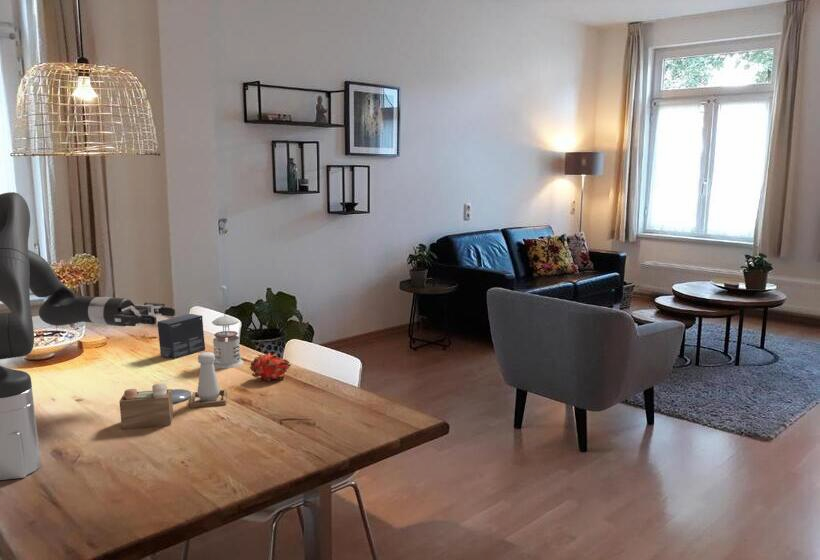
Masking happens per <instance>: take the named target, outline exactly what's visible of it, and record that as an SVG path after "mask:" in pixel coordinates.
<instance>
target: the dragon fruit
mask: <svg viewBox="0 0 820 560" xmlns="http://www.w3.org/2000/svg"><path fill="white" fill-rule="evenodd" d="M253 359H254V360H252V361H251V362H250V367H248V368H250V370H251V372H252V374H251V376H252V377H254V378H258V377H260V380H261V381H264V380H265V381H268V382H270V381H271V380H275V379H276V380H282V379H283V378H284V374H285V373H287V371H288V369H289V368H290V367H291V365H292V364H291V363H290V362H289V360H288V359H285V358H282V357H279V356H278V354H277V353H274V352H273V354H271V353H269V352H268V353H264V355H262V354H261V353H260V354H258V355H257V357H256V356H255V358H253Z"/></svg>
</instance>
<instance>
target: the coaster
mask: <svg viewBox="0 0 820 560" xmlns="http://www.w3.org/2000/svg"><path fill="white" fill-rule="evenodd" d="M191 397H192V393H191V391H190V390H188V389H184V388H183V389H182V388H181V389H179V388H178V389H177V388H176V389H172V402H173V405H174V404H179V403H183V402H185V400H186V401H187V400H189V399H191Z"/></svg>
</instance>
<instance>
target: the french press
mask: <svg viewBox="0 0 820 560" xmlns="http://www.w3.org/2000/svg"><path fill="white" fill-rule="evenodd" d="M219 289H220V290H221V291H222V295H223V297H222V299H223V301H225V293H224V292H225V290H227V287H226V285H221V286H220V288H219ZM225 307H226V306H225V302H223V313H224V315H223V316H222V315H221V316H219V317H216V318H215V319H214V320H212V321H211V324H212V325H214V326H216V327H217V326H219V327H222V330H223V331H218V332H216V333H214V335H213V336H214V338H213V339H212V340H213V341H212V342H213V354H214V355H215V361H214V362H213V365H214V368H215V369H233V368H237V367H241V366H242V365H243V364H244V360H243V359H241V347H240V346H241V345H240V337H239V336H237V335H239V334H238V331H235V330H230V326H233V325H236V324H238V323H239V321H240V320H239V319H238V318H236V317H233V316H229V315H226V308H225ZM227 328H228V330H227ZM226 339H227V341H226Z"/></svg>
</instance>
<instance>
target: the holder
mask: <svg viewBox="0 0 820 560" xmlns="http://www.w3.org/2000/svg"><path fill="white" fill-rule="evenodd" d="M220 395H223V398H222V400H216V401H210V402H202V401H200V402H195V400H196V397H199V396H198V394H197V391H193V392H192V393H191V397H190V402H189V409H191V408H202V407H203V408H205V407H215V406H226V404H227V398H228V389H220V393H219V395H218V396H220Z"/></svg>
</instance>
